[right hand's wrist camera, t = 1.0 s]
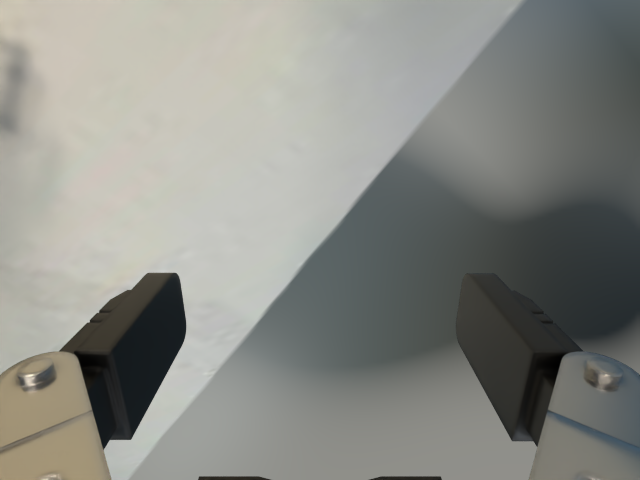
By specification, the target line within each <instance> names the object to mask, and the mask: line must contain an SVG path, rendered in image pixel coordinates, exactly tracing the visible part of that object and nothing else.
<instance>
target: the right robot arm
mask: <svg viewBox="0 0 640 480" xmlns="http://www.w3.org/2000/svg"><path fill="white" fill-rule="evenodd" d="M185 334H186V318H185V311H184V304H183V297H182V290H181V283H180V279H179V276H178V274H177V273H147V274H146V275H145V276H144V277H143V278H142V279H141V280H140V281H139V282H138V283H137V284H136V286H135V287H134V288H133V289H132V290H127V291H125V292H123V293H121V294H120V295H118V296H116V297H114V298H113V299H111V300H110V301H109V302H108V303H107V304H106V305H105V306H104V307H103V308H102V309H101V310H100V311H99V313H97V314H96V315H95V316H94V317H93V318H92V319H91V320H90V323H87V324H86V325H85V326H84V327H83V328H82V329H81V330H80V331H79V332H78V333H77V334H76V335H75V336H74V337H73V338H72V339H71V340H70V341H69V342H68V343H67V344H66V345H65V346H64V347H63V348H62V349H61V350H60V351H59V352H48V353H43V354H39V355H36V356H33V357H30V358H27V359H25V360H23V361H21V362H19V363H17V364H15V365H13V366H12V367H10V368H8V369H7V370H6V371H4V372H3V373H2V374H1V375H0V480H111V476H110V472H109V469H108V465H107V461H106V458H105V454H104V451H103V450H104V448H105V447H106V445H107V443H108V442H109V440H131V439H132V437H133V435H134V433H135V431H136V429H137V428H138V426H139V424H140V422H141V420H142V418H143V416H144V415H145V413H146V411H147V409H148V407H149V405H150V403H151V402H152V400H153V398H154V396H155V394H156V392H157V391H158V389H159V387H160V385H161V383H162V381H163V379H164V378H165V376H166V374H167V372H168V370H169V368H170V366H171V365H172V363H173V361H174V359H175V357H176V355H177V354H178V352H179V350H180V348H181V346H182V344H183V342H184V339H185ZM456 334H457V339H458V342H459V345H460V347H461V349H462V350H463V352H464V354H465V356H466V358H467V359H468V361H469V363H470V365H471V367H472V368H473V370H474V372H475V374H476V376H477V378H478V380H479V381H480V383H481V385H482V387H483V389H484V390H485V392H486V394H487V396H488V398H489V400H490V401H491V403H492V405H493V407H494V409H495V411H496V412H497V414H498V416H499V418H500V420H501V422H502V423H503V425H504V427H505V429H506V431H507V433H508V434H509V436H510V438H511V440H512V441H534V443H535V444H536V446H537V451H536V454H535V458H534V461H533V465H532V469H531V472H530V476H529V480H640V375H639V374H638V373H637V372H636V371H634V370H633V369H632V368H630V367H628V366H627V365H625V364H623V363H621V362H619V361H617V360H615V359H612V358H610V357H607V356H604V355H600V354H597V353H591V352H584V351H583V350H582V349H581V348H580V347H579V346H578V345H577V344H576V343H575V342H574V341H573V340H572V339H571V338H570V337H569V336H568V335H566V333H565V332H563V331H562V330H561V328H559V327H558V326H557V325H556V324H553V321H552V320H551V319H550V318H549V317H548V316H547V315H546V314H544V313H543V311H542V310H541V309H540V308H539V307H538V306H537V305H536V304H535V303H534V302H533V301H532V300H531V299H529V298H527V297H525V296H523V295H522V294H520V293H518V292H516V291H511V290H510V289H509V288H508V287H507V286H506V285H505V284H504V282H503V281H502V280H501V279H500V278H499V277H498V276H497V275H496V274H493V273H467V274H465V275H464V277H463V280H462V285H461V292H460V299H459V305H458V312H457V319H456ZM198 480H270V479H266V478H262V477H199V479H198ZM370 480H442V479H441V477H378V478H374V479H370Z"/></svg>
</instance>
